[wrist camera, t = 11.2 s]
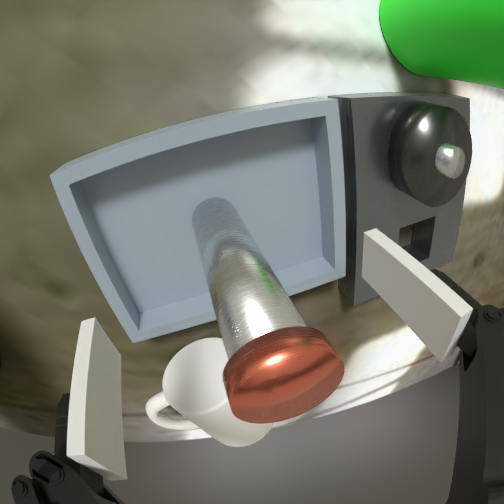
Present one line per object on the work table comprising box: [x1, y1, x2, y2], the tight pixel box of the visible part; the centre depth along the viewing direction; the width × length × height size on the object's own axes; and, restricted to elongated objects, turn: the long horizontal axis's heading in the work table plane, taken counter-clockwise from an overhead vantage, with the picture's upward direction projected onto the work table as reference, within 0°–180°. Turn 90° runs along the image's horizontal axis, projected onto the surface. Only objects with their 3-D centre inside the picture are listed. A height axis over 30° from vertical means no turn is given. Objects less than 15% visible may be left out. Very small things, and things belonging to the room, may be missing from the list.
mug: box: [146, 337, 274, 447], centre depth 27 cm, size 12×10×8 cm
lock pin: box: [192, 197, 344, 424], centre depth 15 cm, size 4×4×14 cm
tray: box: [50, 97, 346, 343], centre depth 20 cm, size 18×14×3 cm
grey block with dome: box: [328, 92, 472, 306], centre depth 22 cm, size 14×18×7 cm
